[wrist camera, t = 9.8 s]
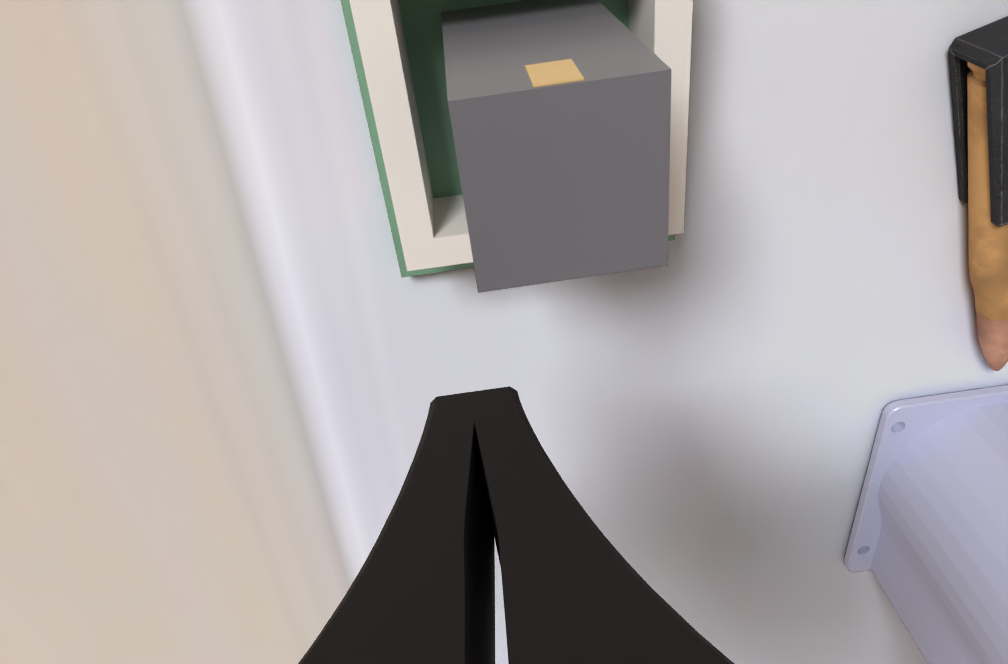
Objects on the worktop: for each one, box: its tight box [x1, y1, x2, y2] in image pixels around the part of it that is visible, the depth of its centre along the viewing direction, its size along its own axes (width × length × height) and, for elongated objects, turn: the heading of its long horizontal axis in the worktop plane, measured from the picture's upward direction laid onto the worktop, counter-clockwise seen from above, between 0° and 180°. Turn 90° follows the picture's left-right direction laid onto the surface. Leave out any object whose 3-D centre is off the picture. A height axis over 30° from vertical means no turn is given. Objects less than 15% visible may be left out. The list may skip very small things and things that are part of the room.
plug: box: [441, 0, 671, 293], centre depth 15 cm, size 4×4×7 cm
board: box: [341, 0, 693, 277], centre depth 17 cm, size 10×8×3 cm
